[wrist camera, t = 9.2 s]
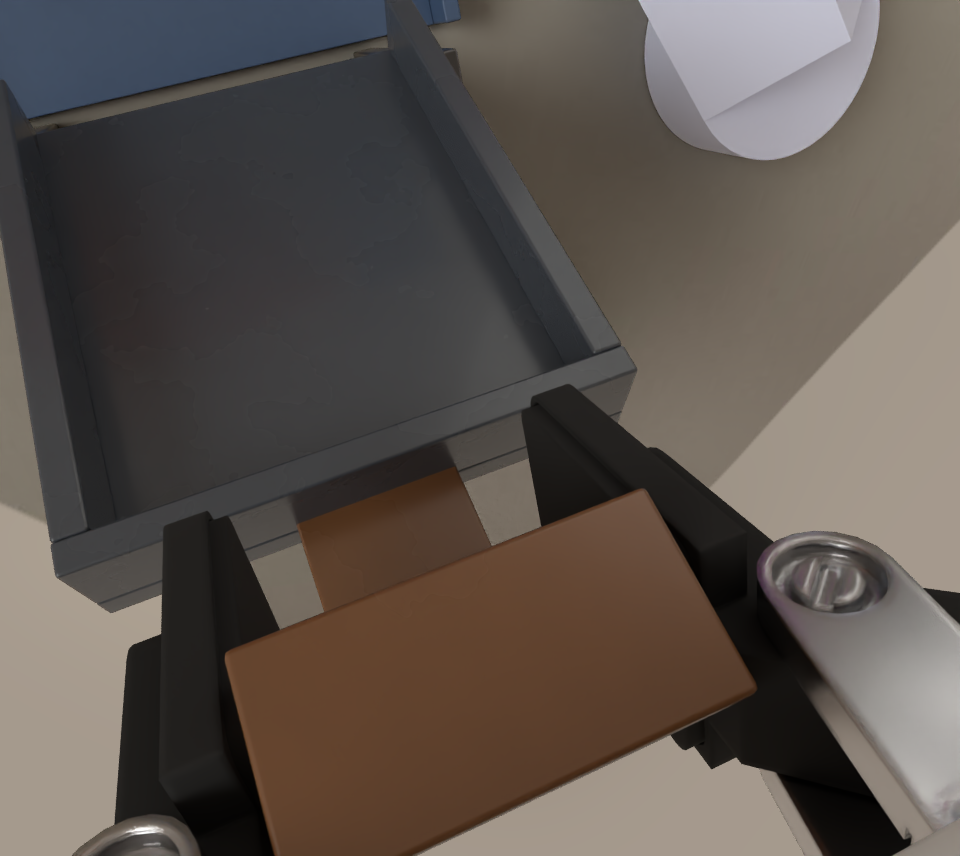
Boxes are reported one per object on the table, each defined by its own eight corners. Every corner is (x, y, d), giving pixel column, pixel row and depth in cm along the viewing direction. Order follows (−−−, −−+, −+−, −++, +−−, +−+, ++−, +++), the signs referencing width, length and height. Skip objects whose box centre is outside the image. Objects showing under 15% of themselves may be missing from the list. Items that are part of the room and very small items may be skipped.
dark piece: (768, 688, 13) (1044, 556, 7) (178, 969, 11) (-180, 1137, 5) (410, 64, 20) (390, -263, 14) (23, 159, 18) (-192, -177, 12)
